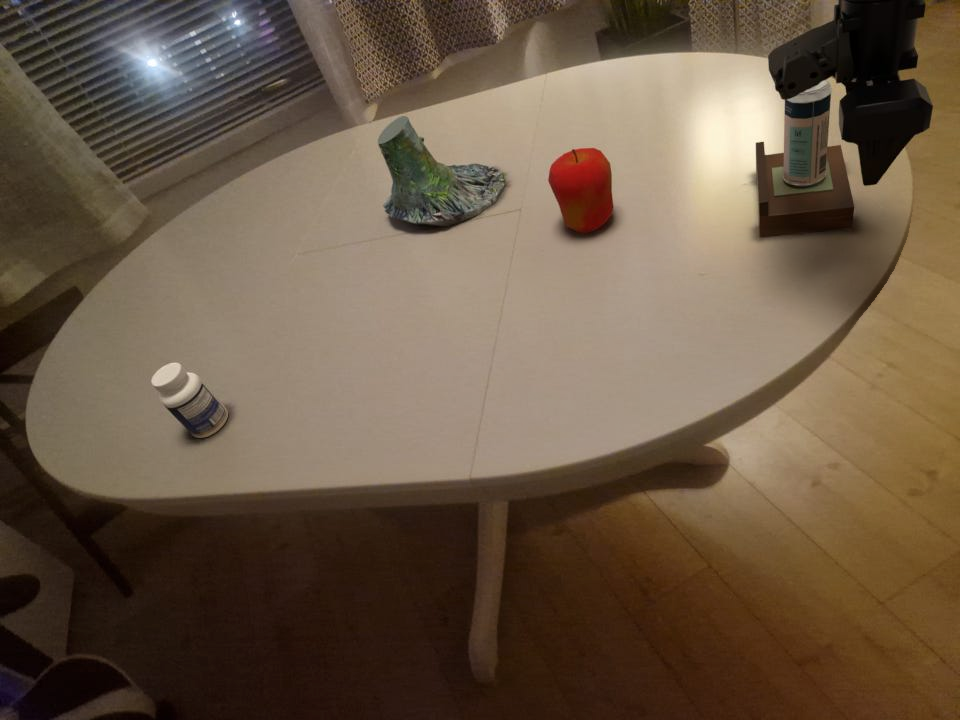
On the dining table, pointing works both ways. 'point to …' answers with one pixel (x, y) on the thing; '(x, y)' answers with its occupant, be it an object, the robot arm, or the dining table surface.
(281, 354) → the dining table surface
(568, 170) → the apple
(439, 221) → the tree stump
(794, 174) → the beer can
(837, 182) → the brown rectangular block
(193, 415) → the pill bottle
